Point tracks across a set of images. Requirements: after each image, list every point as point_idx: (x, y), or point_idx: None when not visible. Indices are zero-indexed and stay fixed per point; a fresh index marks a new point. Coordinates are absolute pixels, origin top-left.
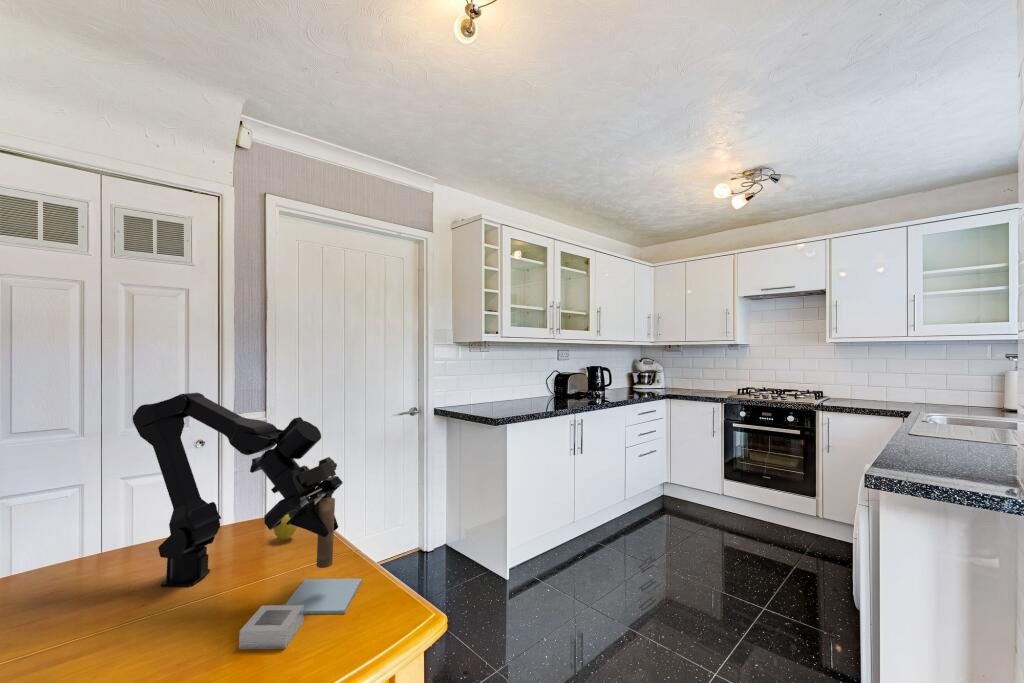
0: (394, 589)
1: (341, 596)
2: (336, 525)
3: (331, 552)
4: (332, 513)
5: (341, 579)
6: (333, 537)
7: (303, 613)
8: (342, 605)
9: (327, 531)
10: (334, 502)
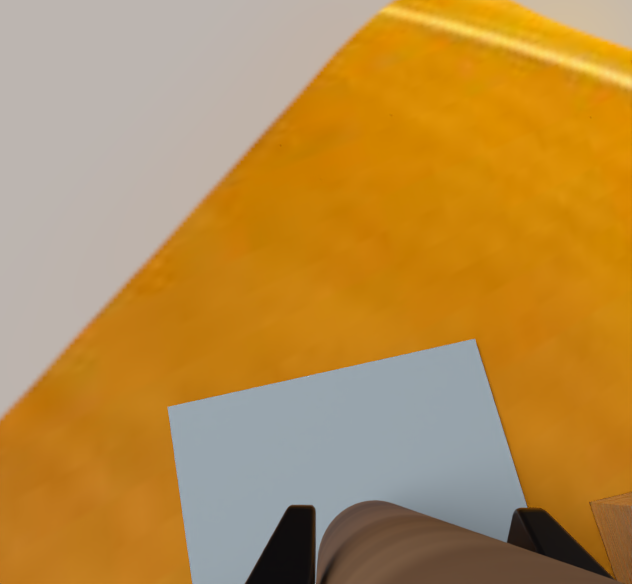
0: (222, 215)
1: (365, 421)
2: (311, 524)
3: (391, 504)
4: (504, 543)
5: (191, 523)
6: (362, 519)
7: (613, 503)
8: (438, 371)
9: (544, 527)
10: (513, 576)
